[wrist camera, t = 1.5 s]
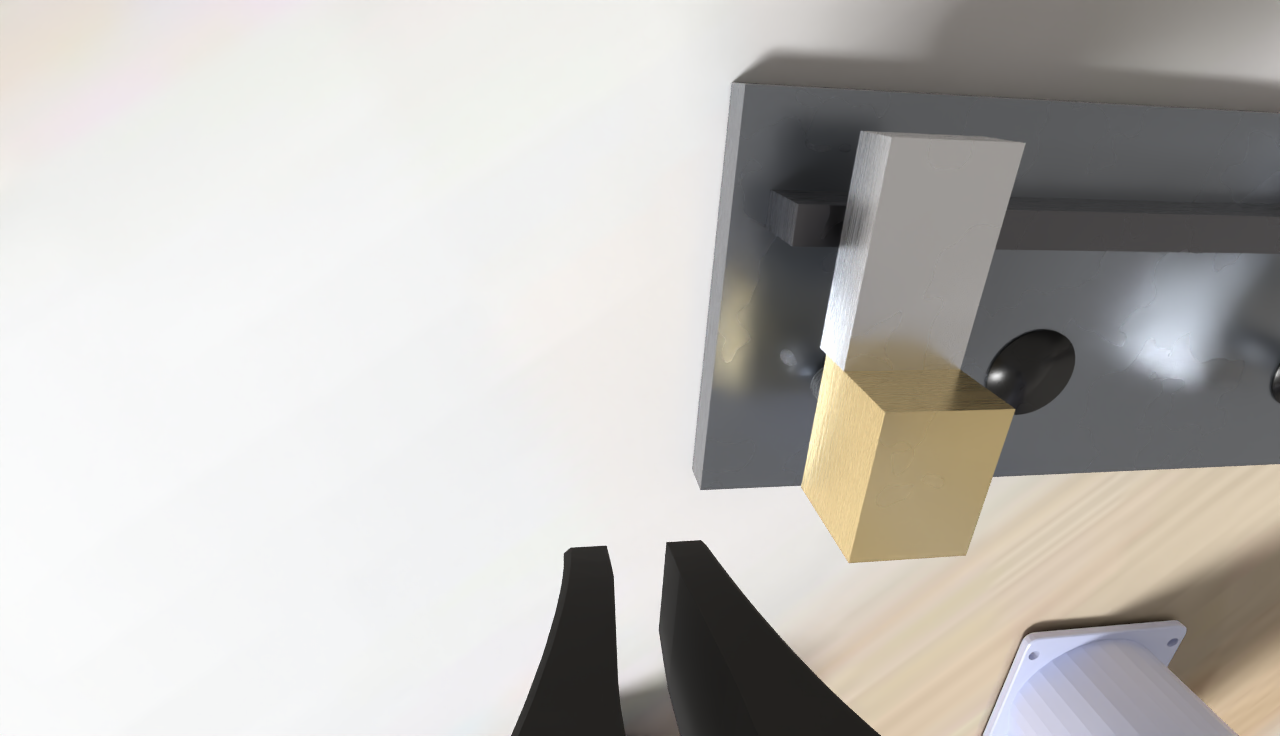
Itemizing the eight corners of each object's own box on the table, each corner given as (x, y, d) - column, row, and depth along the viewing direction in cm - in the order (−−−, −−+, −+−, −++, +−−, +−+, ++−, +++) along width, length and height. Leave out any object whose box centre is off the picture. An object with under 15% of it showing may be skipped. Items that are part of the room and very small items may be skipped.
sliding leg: (863, 438, 20) (965, 555, 15) (772, 441, 20) (848, 563, 15) (934, 128, 16) (1102, 155, 11) (823, 123, 16) (949, 148, 11)
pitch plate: (1302, 444, 26) (1551, 567, 19) (692, 469, 22) (755, 632, 15) (1485, 124, 20) (1902, 150, 14) (732, 82, 17) (849, 92, 10)
